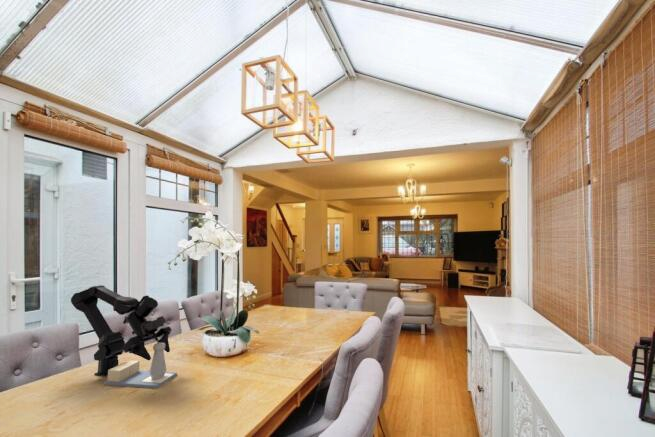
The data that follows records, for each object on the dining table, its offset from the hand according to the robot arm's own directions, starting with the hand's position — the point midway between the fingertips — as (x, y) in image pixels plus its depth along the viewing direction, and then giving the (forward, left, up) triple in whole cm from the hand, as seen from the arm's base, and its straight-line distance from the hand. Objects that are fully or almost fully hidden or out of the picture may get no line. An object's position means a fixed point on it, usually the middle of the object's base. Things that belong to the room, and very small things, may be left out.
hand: (159, 355), depth 121 cm
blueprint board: (-7, 0, -10) cm, 12 cm away
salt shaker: (0, 0, -9) cm, 9 cm away
